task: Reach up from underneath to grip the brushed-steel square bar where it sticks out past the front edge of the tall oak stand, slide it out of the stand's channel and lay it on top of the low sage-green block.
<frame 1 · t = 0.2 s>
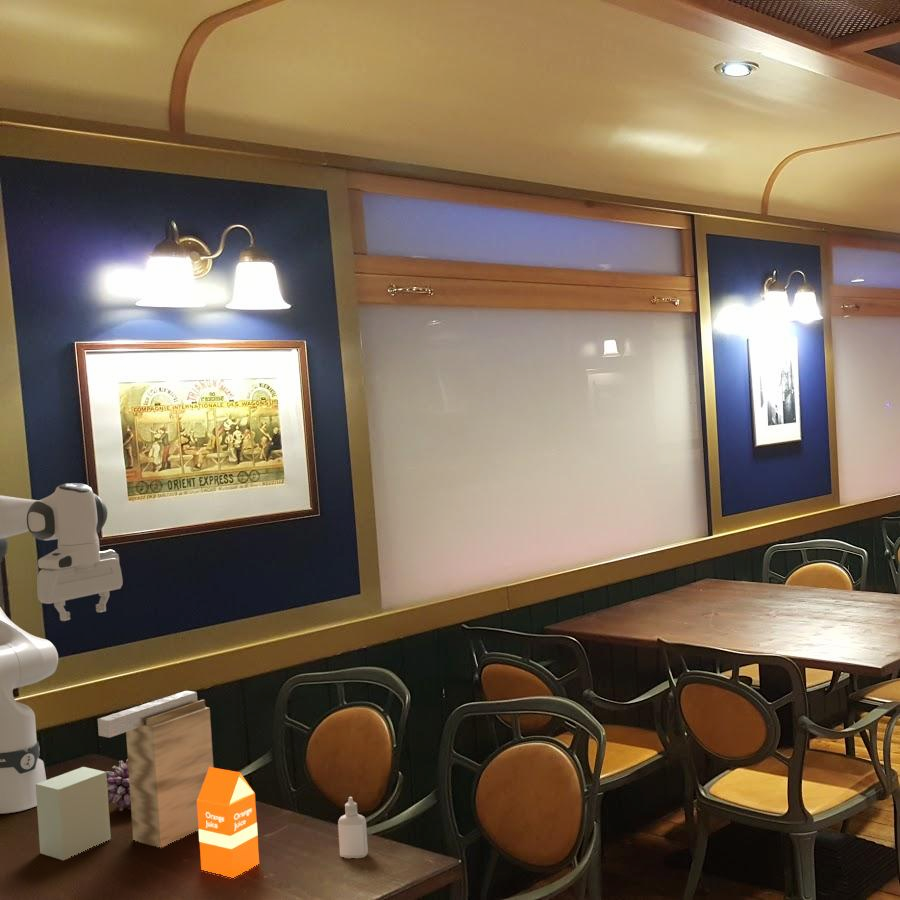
hand: (83, 616, 236), 48 cm above the table, tool pointing down, fingers open, 8 cm apart
oak stand: (175, 830, 232), on the table
sage block: (75, 846, 226), on the table
eye dropper bottle: (354, 856, 213), on the table
steel bar: (150, 720, 227), point 26 cm above the table, touching oak stand
orange juice: (230, 868, 211), on the table
flower: (130, 810, 246), on the table
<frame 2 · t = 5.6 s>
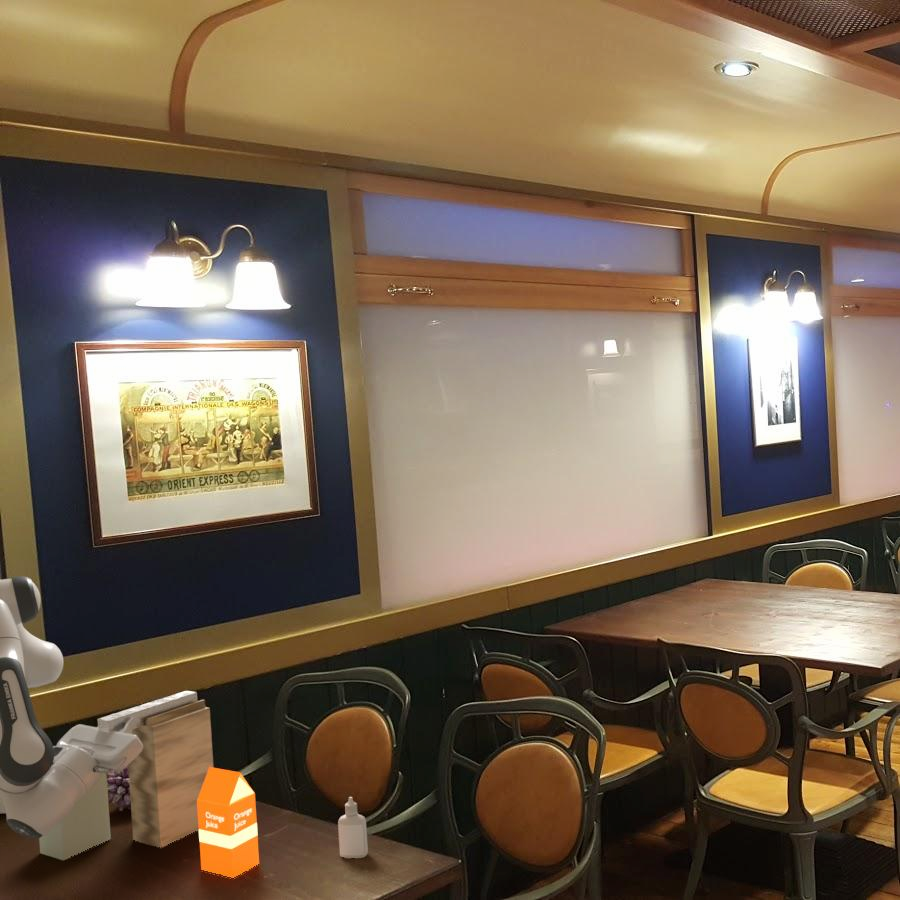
hand: (126, 718, 221), 28 cm above the table, tool pointing upward, fingers closed on steel bar, 3 cm apart
steel bar: (150, 720, 227), point 26 cm above the table, touching gripper, oak stand
everything else where it was.
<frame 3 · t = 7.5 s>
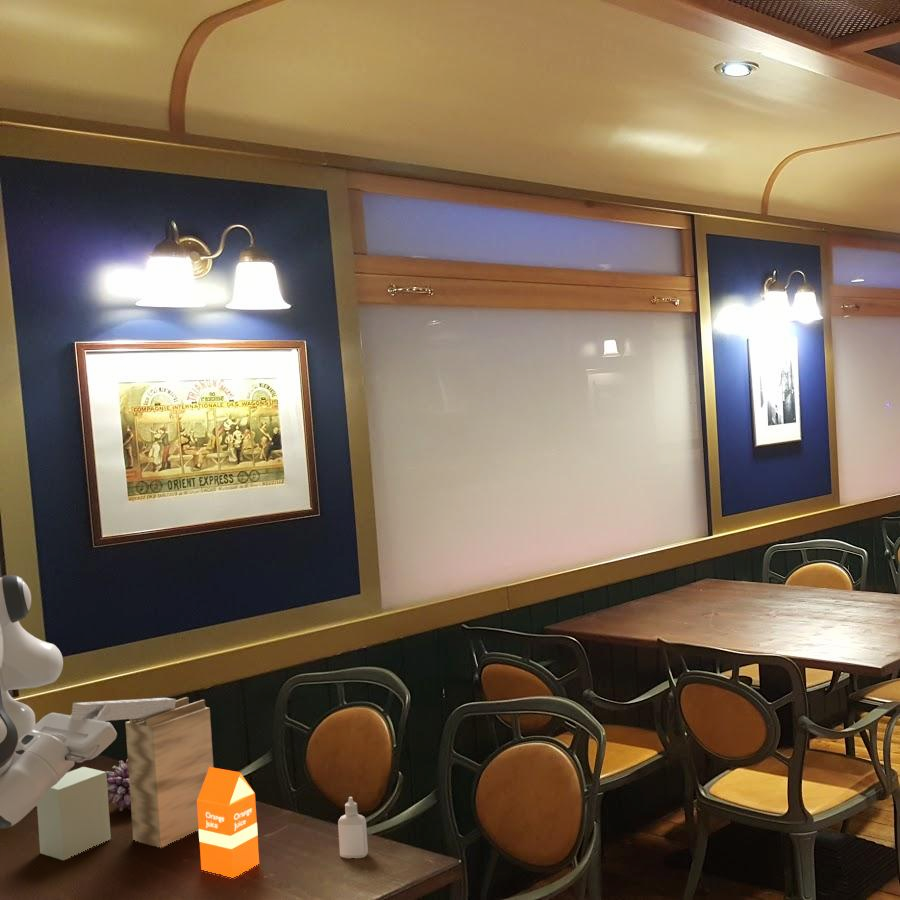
hand: (100, 706, 216), 33 cm above the table, tool pointing upward, fingers closed on steel bar, 3 cm apart
steel bar: (124, 717, 221), point 28 cm above the table, tilted 12°, touching gripper
everything else where it was.
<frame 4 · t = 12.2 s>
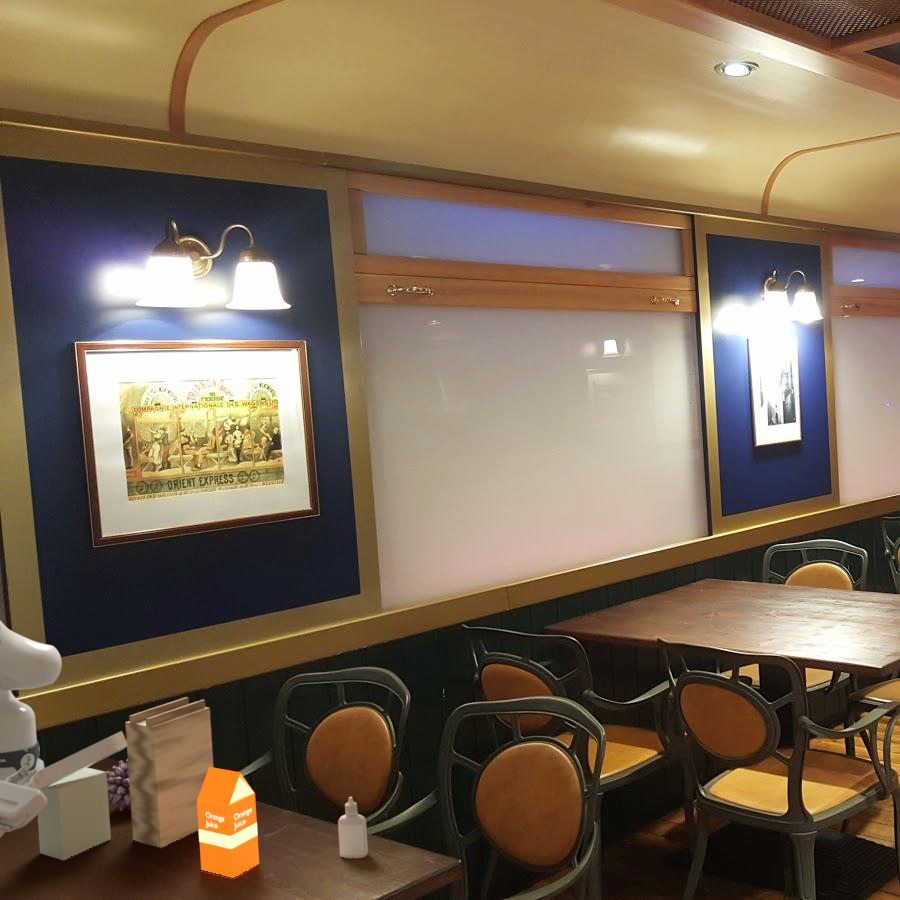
hand: (33, 770, 218), 19 cm above the table, tool pointing upward, fingers closed on steel bar, 3 cm apart
steel bar: (75, 772, 223), point 17 cm above the table, tilted 29°, touching gripper, sage block
everything else where it was.
when the fingers open (19 cm above the table, at t = 12.3 s): steel bar moves 2 cm and tips over, resting on sage block.
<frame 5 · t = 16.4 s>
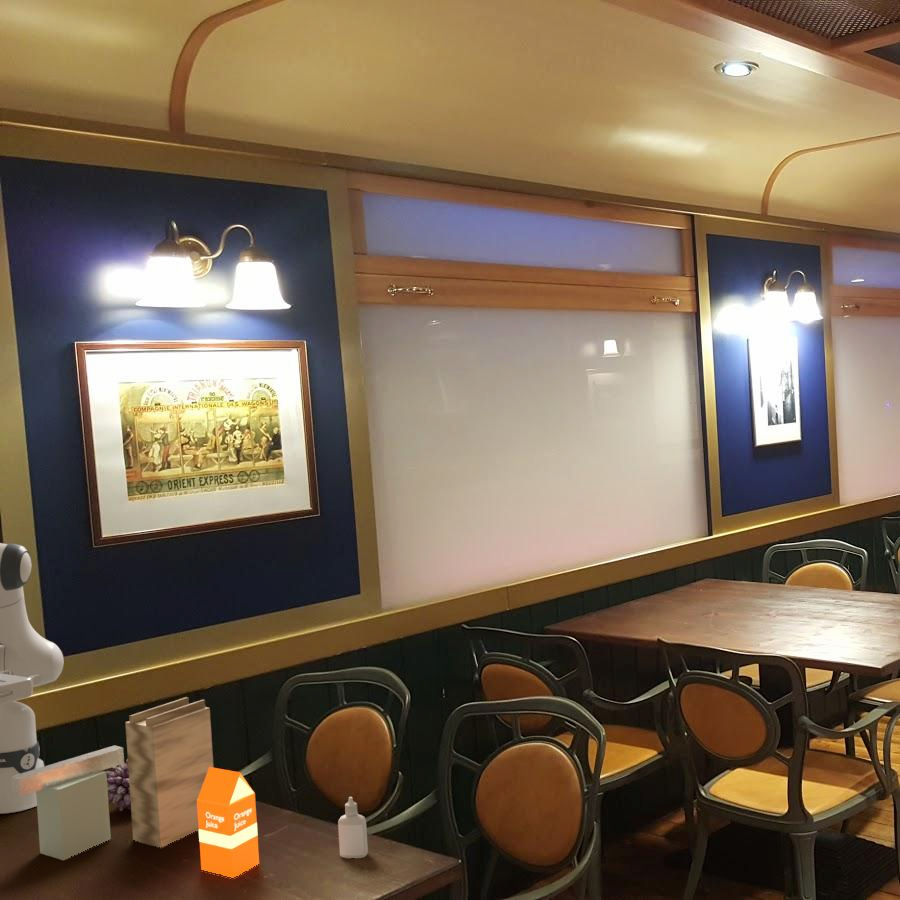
hand: (25, 676, 214), 40 cm above the table, tool horizontal, fingers open, 8 cm apart
steel bar: (73, 771, 224), point 17 cm above the table, tilted 90°, touching sage block
everything else where it was.
at the end: steel bar inside the target area (2.6 cm from its centre), point 16.7 cm above the table; steel bar touching sage block; the gripper is holding nothing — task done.
